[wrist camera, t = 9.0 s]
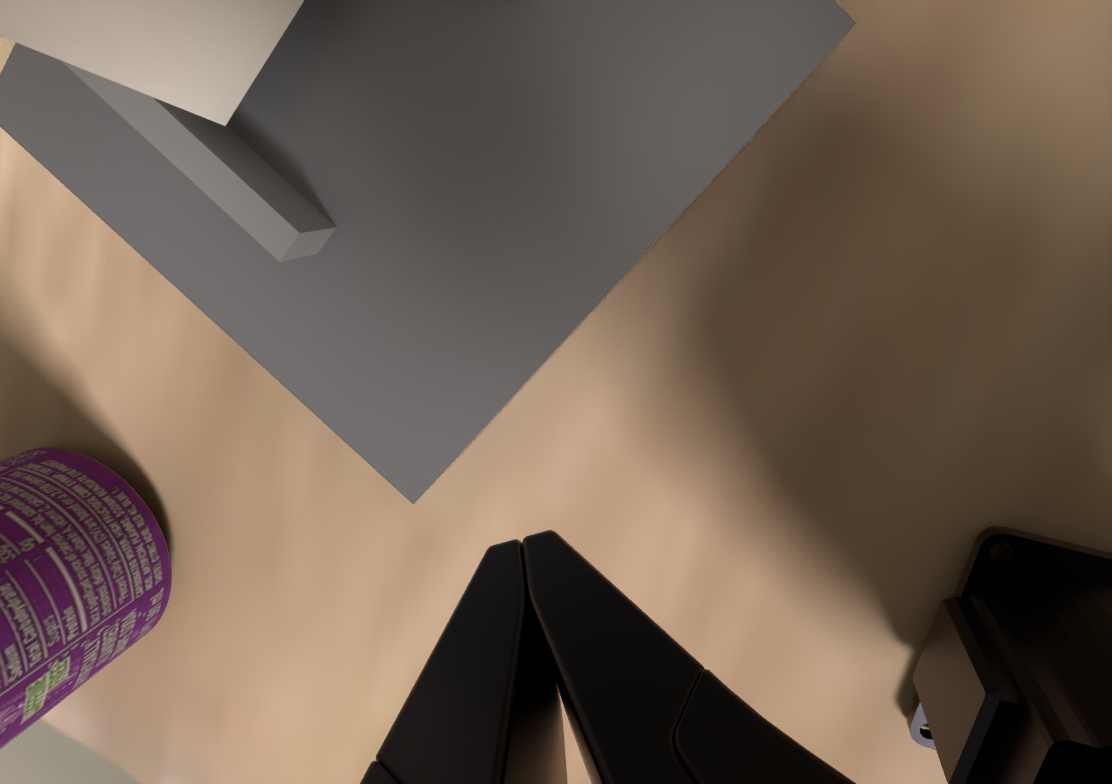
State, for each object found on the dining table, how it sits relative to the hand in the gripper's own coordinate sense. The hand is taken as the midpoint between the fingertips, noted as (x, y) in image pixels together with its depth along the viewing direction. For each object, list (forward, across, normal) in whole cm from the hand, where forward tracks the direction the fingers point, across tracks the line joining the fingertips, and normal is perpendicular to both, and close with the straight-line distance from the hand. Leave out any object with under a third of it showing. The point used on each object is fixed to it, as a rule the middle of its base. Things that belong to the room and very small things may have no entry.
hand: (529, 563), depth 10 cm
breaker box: (+14, 0, +3) cm, 15 cm away
